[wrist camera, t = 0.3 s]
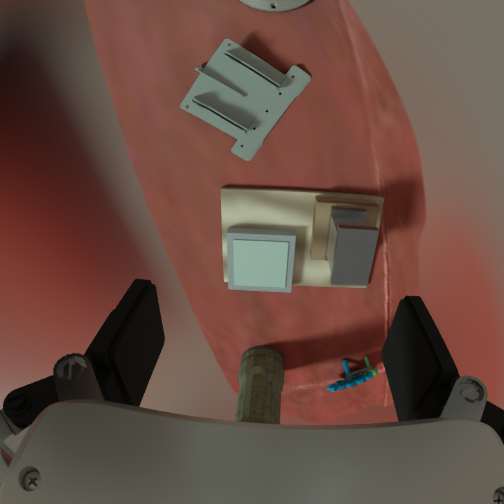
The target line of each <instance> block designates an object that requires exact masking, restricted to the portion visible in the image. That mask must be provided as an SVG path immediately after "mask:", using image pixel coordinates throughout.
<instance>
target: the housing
mask: <svg viewBox="0 0 504 504" xmlns="http://www.w3.org/2000/svg"><path fill="white" fill-rule="evenodd" d="M366 217H367V211H366V209H358V208H344V207H331V212H330V220H329V228H328V236H327V244H326V251H325V261H328V264H329V268H330V272H331V276H330V284H331V285H358V286H367V284H368V280H369V276H370V272H371V267H372V263H373V258H374V254H375V249H376V244H377V239H378V234H379V230H378V228H377V227H371V226H370V224H369V222H368V221H367V219H366Z"/></svg>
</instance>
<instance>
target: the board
mask: <svg viewBox="0 0 504 504" xmlns="http://www.w3.org/2000/svg"><path fill="white" fill-rule="evenodd" d="M315 196H319V197H334V198H348V199H360V200H372V201H375V202H376V203H377V204H378V206H379V212H378V218H377V223H376V227H377V228H378V230H379V227H380V221H381V216H382V210H383V204H384V197H383V196H375V195H364V194H353V193H340V192H326V191H311V190H293V189H273V188H246V187H222V188H221V212H222V242H223V267H224V282H228V264H227V230H228V227H239V228H262V229H284V230H295V232H296V241H295V253H294V264H293V275H292V285H296V286H320V287H349V288H366V286H358V285H331V284H330V276H331V272H330V268H329V264H328V261H325V260H311V256H310V244H311V235H312V225H313V215H314V204H315Z"/></svg>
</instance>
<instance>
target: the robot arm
mask: <svg viewBox="0 0 504 504" xmlns="http://www.w3.org/2000/svg"><path fill="white" fill-rule="evenodd" d="M239 1H241V2H242V3H243V4H245V5H247V6H249V7H251V8H253V9H256V10H259V11H264V12H273V13H278V12H287V11H291V10H294V9H297V8H299V7H302V6H303V5H305V4H306V3H308V2H309V1H310V0H239ZM272 6H275V7H276V8H275V9H273V8H272ZM164 341H165V336H164V330H163V325H162V320H161V314H160V309H159V303H158V297H157V291H156V286H155V285H154V284H152V283H151V281H150V280H144V279H135V280H134V281H133V283H132V284H131V286H130V288H129V289H128V290H127V292H126V293H125V295H124V296H123V298H122V299H121V301H120V302H119V304H118V305H117V307H116V308H115V310H113V311H112V312H111V313H110V314H109V316H108V317H107V319H106V321H105V322H104V324H103V325H102V327H101V328H100V330H99V331H98V333H97V335H96V336H95V338H94V339H93V341H92V342H91V344H90V346H89V347H88V349H87V351H86V352H85V354H84V355H83V354H79V353H72V354H67V355H65V356H63V357H61V358H60V359H59V360H58V361H57V362H56V363H55V365H54V368H53V375H52V376H49V377H47V378H44V379H42V380H39V381H37V382H34V383H31V384H28V385H26V386H23V387H20V388H18V389H15V390H13V391H12V392H10V393H9V394H8V395H7V397H6V398H5V400H4V403H3V409H1V410H0V504H504V410H502V409H501V408H499V407H497V406H495V405H494V404H492V403H490V402H489V401H487V395H488V394H487V389H486V387H485V385H484V384H483V383H482V382H481V381H480V380H479V379H477V378H475V377H472V376H462V377H460V376H459V373H458V370H457V368H456V365H455V363H454V361H453V359H452V357H451V355H450V352H449V350H448V349H447V346H446V344H445V342H444V340H443V338H442V337H441V334H440V333H439V330H438V329H437V327H436V325H435V323H434V321H433V319H432V317H431V315H430V313H429V312H428V310H427V308H426V306H425V304H424V302H423V301H422V299H421V297H420V296H405V298H404V299H402V300H400V302H399V305H398V308H397V311H396V314H395V316H394V319H393V322H392V325H391V328H390V330H389V333H388V336H387V338H386V341H385V344H384V346H383V349H382V360H383V364H384V367H385V371H386V374H387V378H388V382H389V385H390V389H391V393H392V397H393V400H394V404H395V408H396V412H397V416H398V420H399V422H386V423H373V424H353V425H284V424H265V423H250V422H239V421H228V420H219V419H210V418H203V417H195V416H188V415H182V414H175V413H170V412H164V411H158V410H152V409H147V408H142V407H139V406H140V403H141V401H142V398H143V395H144V393H145V390H146V388H147V385H148V382H149V380H150V378H151V375H152V373H153V370H154V368H155V365H156V363H157V360H158V358H159V355H160V353H161V350H162V348H163V345H164Z"/></svg>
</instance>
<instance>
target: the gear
mask: <svg viewBox="0 0 504 504" xmlns="http://www.w3.org/2000/svg"><path fill="white" fill-rule="evenodd" d="M364 360H365V363H366V367H365V368H362V369H359V370H356V371H354V372H351V373H350V370H349V366H348V363H347V359H346V360H343V361H342V363H343V366H344V370H345V373H346V374H345V380H339V381H337V382H336V383H333V384H330V386H328V387H327V389H328V391H331V392H332V391H336V390H337V389H339V390H343V389H345V387H353V386H356V384H358V383H364V382H366V380H368V379H371V378H372V376H375V375H378V371H377V368H376V369H373V367H372V365H371V366H370V365H369V361H368V358H367V356H365V357H364ZM372 369H373V370H372ZM362 371H365V372H363V373H362V374H363V375H361V374H357V375H355V377H353V374H356V373H359V372H362Z"/></svg>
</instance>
